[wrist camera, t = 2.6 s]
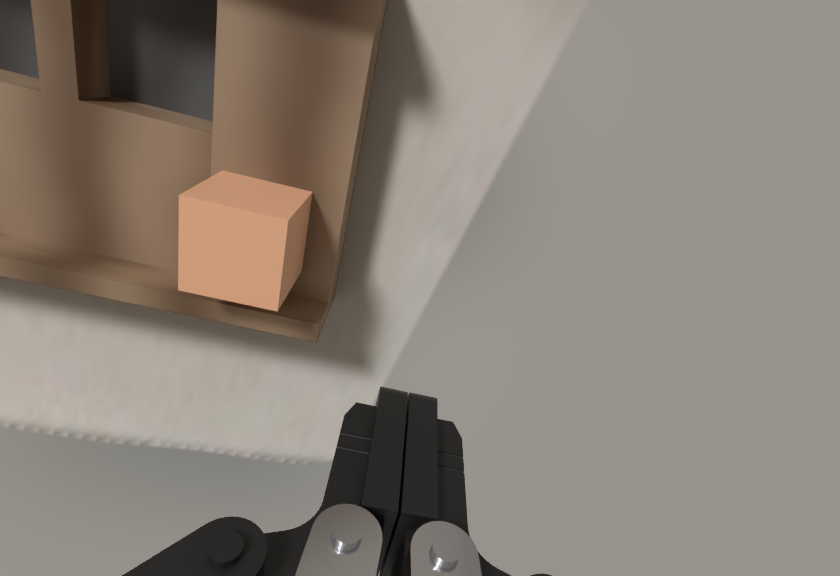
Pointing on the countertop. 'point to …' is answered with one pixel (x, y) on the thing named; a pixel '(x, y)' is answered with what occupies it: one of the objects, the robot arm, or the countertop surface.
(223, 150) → the box
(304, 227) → the terracotta block
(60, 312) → the countertop surface
